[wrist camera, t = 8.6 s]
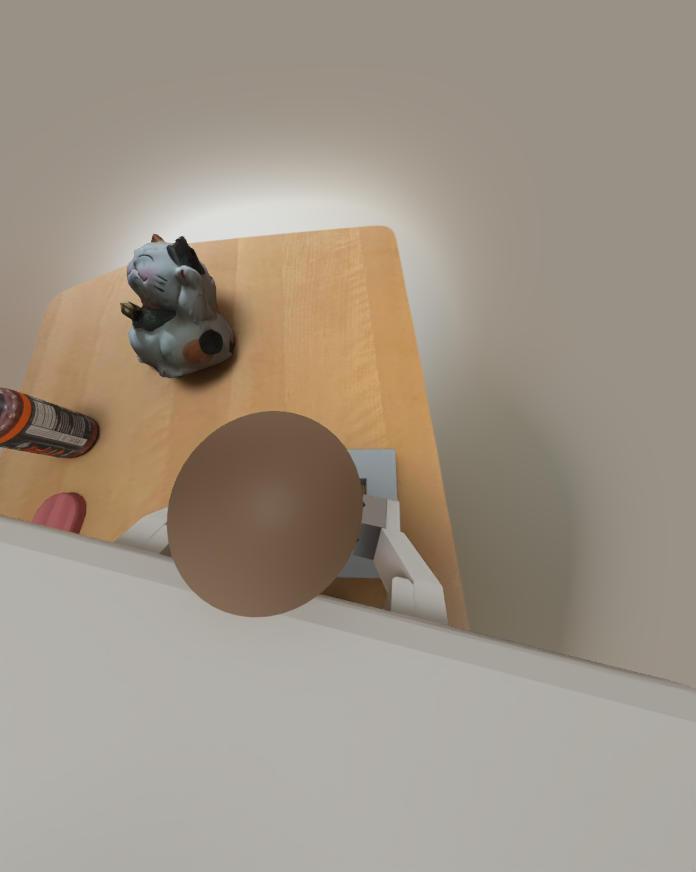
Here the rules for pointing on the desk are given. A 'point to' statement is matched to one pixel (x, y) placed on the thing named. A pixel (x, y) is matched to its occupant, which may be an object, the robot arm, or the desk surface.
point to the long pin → (264, 514)
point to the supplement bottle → (43, 426)
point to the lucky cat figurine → (175, 310)
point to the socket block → (379, 482)
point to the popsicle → (62, 512)
